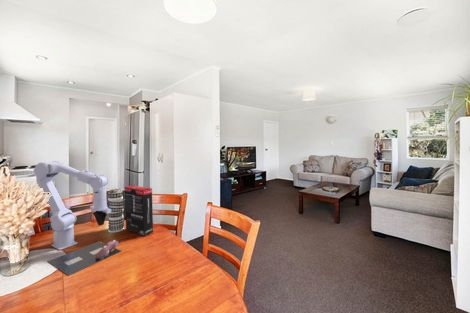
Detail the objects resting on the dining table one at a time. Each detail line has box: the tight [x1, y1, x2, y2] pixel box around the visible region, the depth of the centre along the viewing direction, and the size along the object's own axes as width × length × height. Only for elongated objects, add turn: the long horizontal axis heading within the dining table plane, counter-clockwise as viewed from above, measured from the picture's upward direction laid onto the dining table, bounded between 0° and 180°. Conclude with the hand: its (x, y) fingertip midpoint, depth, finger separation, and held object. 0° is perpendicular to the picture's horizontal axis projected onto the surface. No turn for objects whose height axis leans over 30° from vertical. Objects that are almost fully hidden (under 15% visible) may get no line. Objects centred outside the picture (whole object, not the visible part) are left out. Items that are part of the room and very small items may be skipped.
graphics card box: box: [124, 184, 154, 237], centre depth 124 cm, size 17×7×27 cm, turn 63°
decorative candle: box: [107, 188, 125, 234], centre depth 127 cm, size 9×9×25 cm
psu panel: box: [47, 240, 122, 276], centre depth 98 cm, size 20×22×1 cm
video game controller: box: [95, 239, 119, 258], centre depth 99 cm, size 10×5×7 cm, turn 172°
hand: (100, 224), depth 109 cm, fingers closed
